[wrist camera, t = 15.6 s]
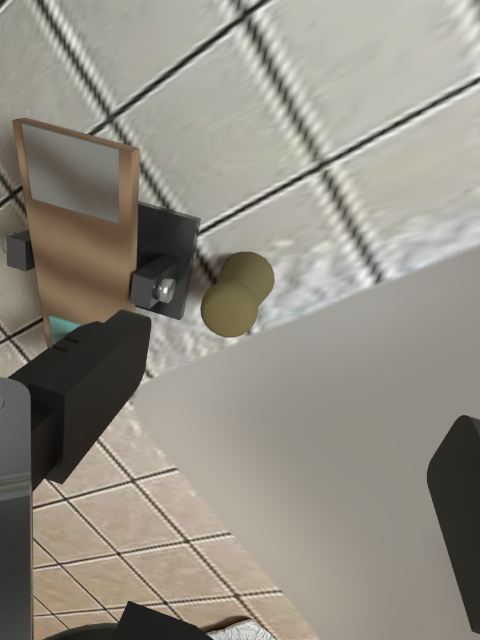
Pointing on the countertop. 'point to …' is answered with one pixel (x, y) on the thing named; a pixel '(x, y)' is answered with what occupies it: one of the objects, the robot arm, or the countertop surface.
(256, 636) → the cookie jar
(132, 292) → the seesaw stand
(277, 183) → the countertop surface
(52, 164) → the beam
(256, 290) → the olive brown waisted cylinder
